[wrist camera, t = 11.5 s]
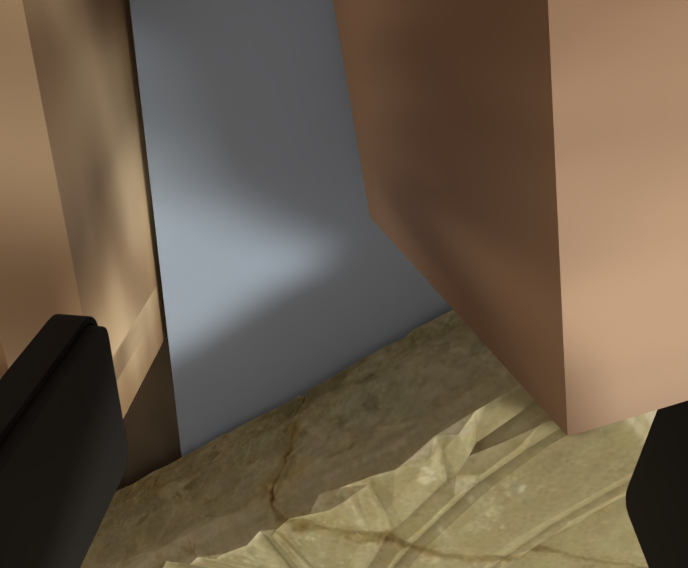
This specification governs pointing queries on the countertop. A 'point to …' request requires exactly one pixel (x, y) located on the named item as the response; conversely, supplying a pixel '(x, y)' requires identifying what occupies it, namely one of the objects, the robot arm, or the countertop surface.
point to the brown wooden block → (538, 183)
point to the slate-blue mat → (261, 209)
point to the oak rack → (76, 183)
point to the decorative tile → (391, 477)
